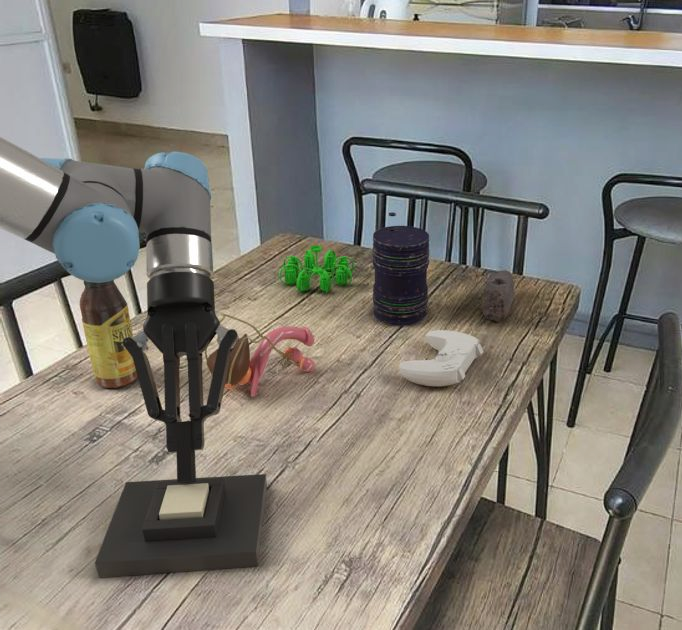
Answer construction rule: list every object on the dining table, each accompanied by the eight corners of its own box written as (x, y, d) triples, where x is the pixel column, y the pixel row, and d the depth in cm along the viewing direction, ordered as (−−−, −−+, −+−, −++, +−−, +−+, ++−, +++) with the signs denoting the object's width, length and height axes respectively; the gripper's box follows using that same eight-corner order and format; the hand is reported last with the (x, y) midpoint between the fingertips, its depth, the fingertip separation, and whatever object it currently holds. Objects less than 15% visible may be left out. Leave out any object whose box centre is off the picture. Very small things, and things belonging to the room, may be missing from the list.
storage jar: (438, 317, 122) (442, 222, 113) (391, 331, 117) (392, 233, 108) (407, 296, 129) (409, 205, 121) (362, 309, 124) (361, 214, 116)
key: (161, 528, 72) (158, 513, 71) (170, 499, 76) (167, 485, 75) (204, 525, 73) (201, 511, 72) (210, 496, 77) (208, 482, 76)
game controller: (429, 323, 113) (486, 324, 109) (433, 347, 115) (489, 349, 110) (391, 365, 101) (453, 368, 97) (397, 390, 103) (458, 395, 99)
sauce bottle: (131, 391, 99) (104, 265, 90) (88, 390, 99) (57, 264, 90) (147, 367, 105) (124, 247, 96) (107, 366, 105) (80, 246, 96)
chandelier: (334, 303, 126) (332, 268, 123) (264, 288, 130) (261, 255, 127) (368, 272, 138) (367, 240, 135) (303, 260, 143) (301, 229, 140)
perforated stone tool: (492, 290, 132) (494, 257, 129) (519, 294, 131) (522, 261, 128) (475, 325, 119) (478, 289, 116) (505, 330, 118) (509, 294, 115)
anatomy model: (341, 353, 104) (277, 306, 93) (286, 426, 102) (214, 387, 91) (307, 327, 111) (243, 280, 100) (255, 395, 109) (184, 355, 98)
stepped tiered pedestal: (98, 578, 70) (90, 549, 68) (129, 496, 80) (122, 469, 78) (258, 566, 71) (254, 538, 70) (267, 487, 82) (264, 461, 80)
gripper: (240, 285, 86) (250, 476, 80) (131, 292, 84) (133, 489, 78) (233, 265, 79) (244, 473, 73) (113, 272, 76) (114, 488, 70)
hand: (186, 481), depth 75 cm, fingers closed
